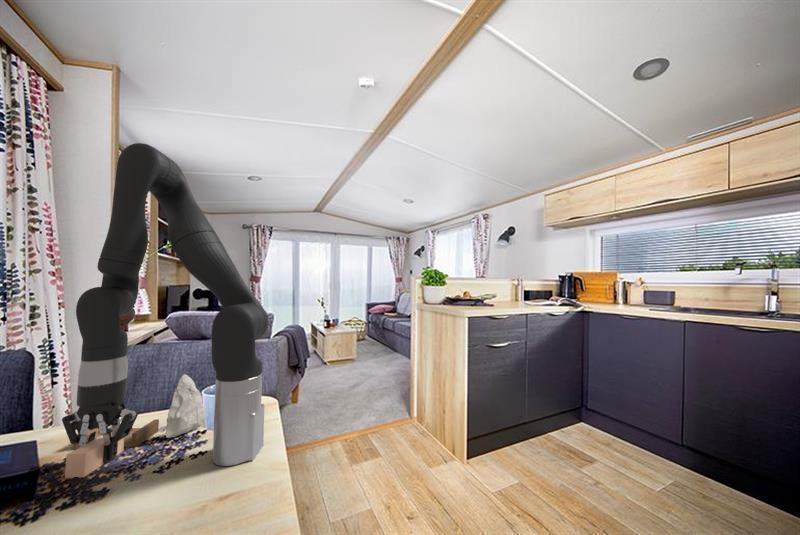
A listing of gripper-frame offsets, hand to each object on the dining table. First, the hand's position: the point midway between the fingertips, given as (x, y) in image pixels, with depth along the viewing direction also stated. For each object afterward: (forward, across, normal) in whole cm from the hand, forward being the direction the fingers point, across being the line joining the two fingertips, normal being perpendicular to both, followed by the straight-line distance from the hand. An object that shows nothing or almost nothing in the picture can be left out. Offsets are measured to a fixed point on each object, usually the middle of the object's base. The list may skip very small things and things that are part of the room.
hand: (98, 460), depth 62 cm
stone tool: (0, -11, -10) cm, 15 cm away
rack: (0, +4, -9) cm, 10 cm away
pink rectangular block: (0, 0, +1) cm, 1 cm away
